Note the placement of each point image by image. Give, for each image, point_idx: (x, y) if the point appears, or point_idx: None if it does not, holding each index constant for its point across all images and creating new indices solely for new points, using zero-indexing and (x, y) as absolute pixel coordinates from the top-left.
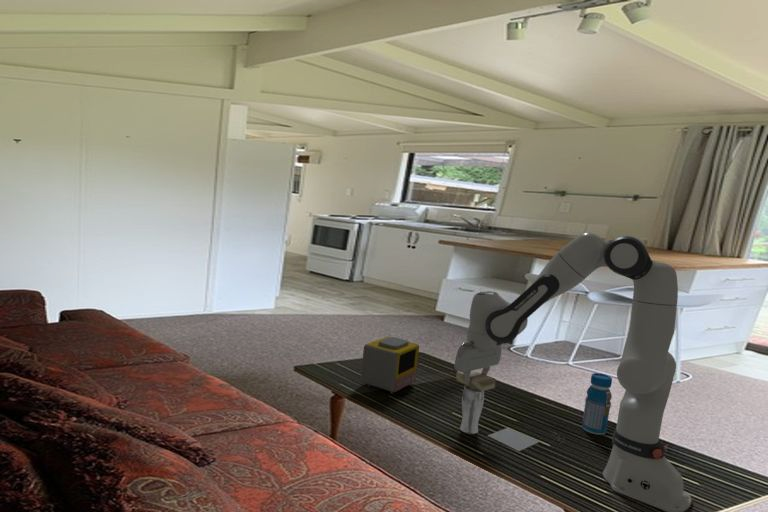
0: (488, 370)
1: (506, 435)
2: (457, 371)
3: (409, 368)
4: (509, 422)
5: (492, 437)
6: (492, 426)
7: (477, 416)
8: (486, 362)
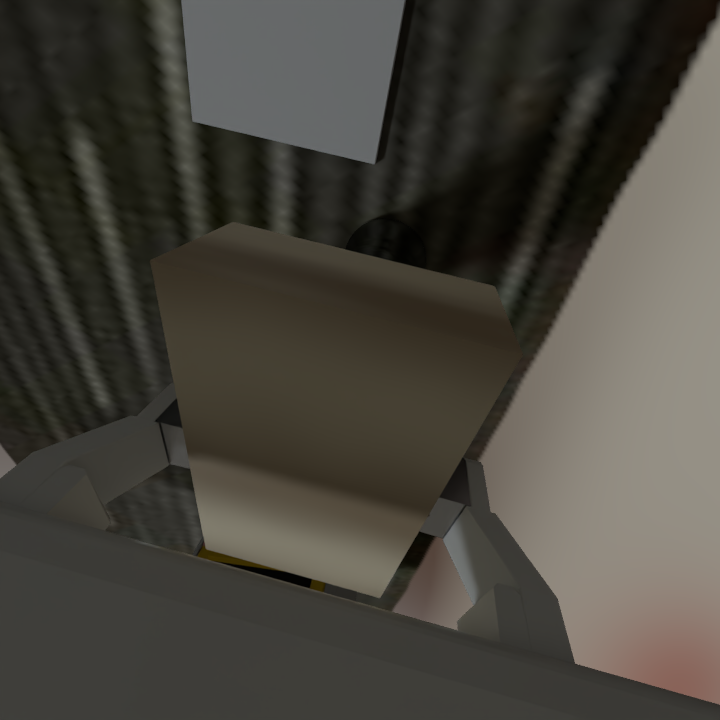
0: (74, 446)
1: (287, 73)
2: (374, 595)
3: (235, 567)
4: (132, 156)
5: (376, 128)
6: (246, 201)
7: (392, 248)
8: (35, 670)
